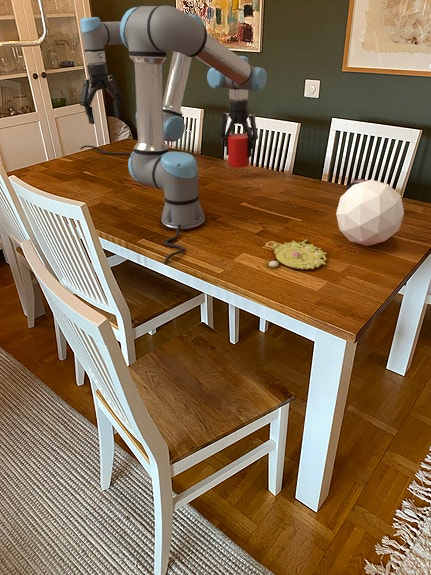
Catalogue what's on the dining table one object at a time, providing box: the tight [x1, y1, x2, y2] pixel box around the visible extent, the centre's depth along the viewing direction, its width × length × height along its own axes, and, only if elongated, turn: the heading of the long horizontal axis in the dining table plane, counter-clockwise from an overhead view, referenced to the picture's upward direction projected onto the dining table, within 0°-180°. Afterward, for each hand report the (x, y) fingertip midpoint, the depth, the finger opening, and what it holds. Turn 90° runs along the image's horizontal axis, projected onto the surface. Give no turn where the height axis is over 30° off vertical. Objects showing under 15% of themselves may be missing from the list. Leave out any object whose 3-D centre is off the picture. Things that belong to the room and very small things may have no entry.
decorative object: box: [265, 238, 328, 270], centre depth 132 cm, size 21×2×20 cm
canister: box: [227, 132, 251, 168], centre depth 189 cm, size 9×9×12 cm
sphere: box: [335, 179, 405, 247], centre depth 135 cm, size 19×20×20 cm
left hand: (105, 120), depth 184 cm, fingers open, 13 cm apart
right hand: (238, 155), depth 190 cm, fingers closed on canister, 9 cm apart
